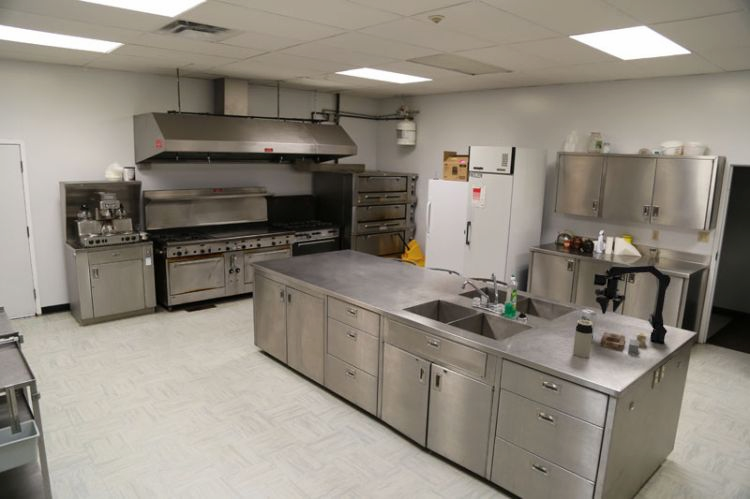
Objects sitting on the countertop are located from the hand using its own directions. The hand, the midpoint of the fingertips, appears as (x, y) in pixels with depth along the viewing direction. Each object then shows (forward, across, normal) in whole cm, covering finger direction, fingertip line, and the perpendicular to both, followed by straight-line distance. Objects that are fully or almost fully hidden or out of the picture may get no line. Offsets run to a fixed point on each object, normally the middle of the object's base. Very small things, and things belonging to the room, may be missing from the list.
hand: (608, 312), depth 283 cm
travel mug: (+14, +38, +13) cm, 43 cm away
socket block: (+14, +8, +10) cm, 19 cm away
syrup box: (+14, +11, -5) cm, 18 cm away
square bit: (+14, -5, +18) cm, 23 cm away
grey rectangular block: (+14, +8, +22) cm, 27 cm away
